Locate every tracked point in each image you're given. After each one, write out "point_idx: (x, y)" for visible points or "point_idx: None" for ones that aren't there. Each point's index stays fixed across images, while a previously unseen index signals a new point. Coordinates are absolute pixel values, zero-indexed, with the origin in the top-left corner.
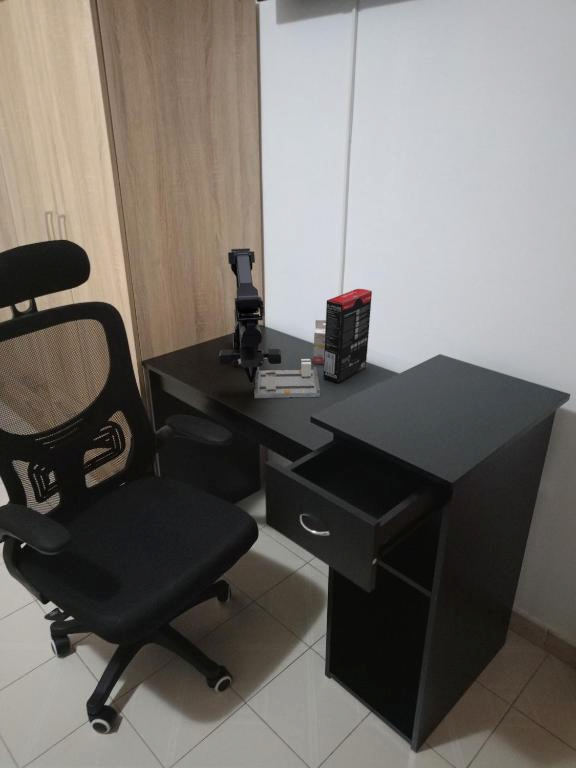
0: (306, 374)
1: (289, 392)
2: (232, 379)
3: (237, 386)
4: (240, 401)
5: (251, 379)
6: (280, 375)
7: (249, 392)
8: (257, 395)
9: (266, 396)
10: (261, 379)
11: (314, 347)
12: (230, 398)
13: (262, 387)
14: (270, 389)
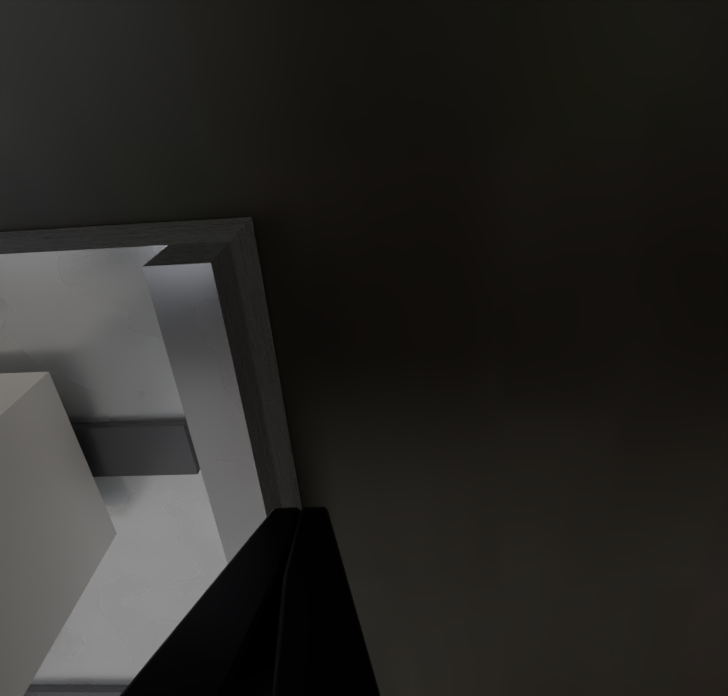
0: None
1: None
2: (587, 657)
3: (534, 534)
4: (490, 79)
5: (279, 557)
6: (32, 693)
7: (363, 394)
8: (187, 234)
9: (45, 236)
10: None
11: None
12: (669, 200)
13: (145, 445)
14: None
